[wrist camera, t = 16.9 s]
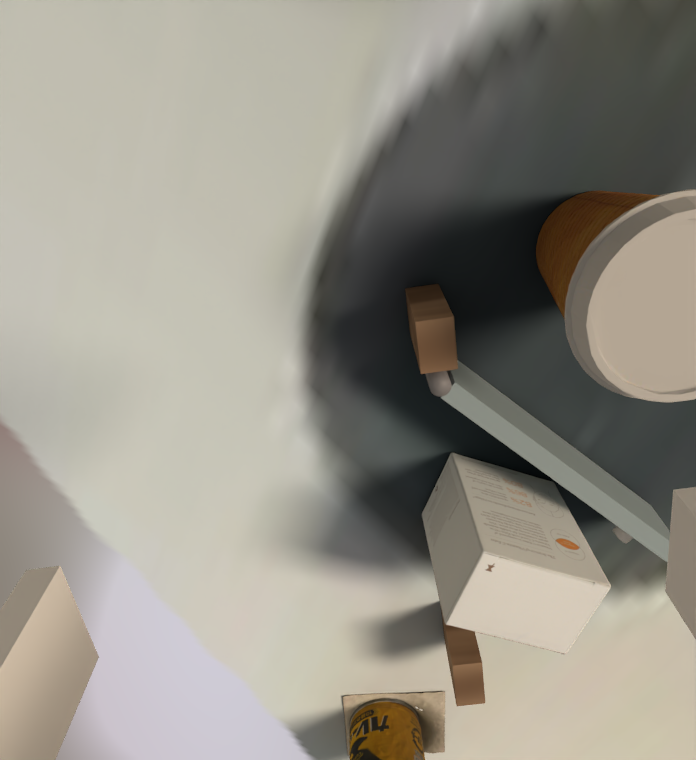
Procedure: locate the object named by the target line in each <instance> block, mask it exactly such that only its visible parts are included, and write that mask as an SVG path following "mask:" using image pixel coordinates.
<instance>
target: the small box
mask: <svg viewBox="0 0 696 760" xmlns="http://www.w3.org/2000/svg"><path fill="white" fill-rule="evenodd" d="M422 518H423V523H424V528H425V533H426V538H427V542H428V547H429V552H430V557H431V561H432V566H433V571H434V575H435V580H436V585H437V590H438V595H439V600H440V604H441V609H442V613H443V618H444V622H445V624H446V625H449V626H454V627H458V628H462V629H466V630H470V631H474V632H478V633H482V634H486V635H490V636H494V637H498V638H503V639H507V640H510V641H515V642H519V643H523V644H527V645H531V646H535V647H539V648H543V649H547V650H551V651H555V652H559V653H562V654H566V653H567V652H568V650H569V649H570V647H571V646H572V645H573V643H574V642H575V640H576V639H577V637H578V636H579V634H580V633H581V631H582V630H583V628H584V627H585V625H586V624H587V622H588V621H589V619H590V618H591V616H592V615H593V613H594V612H595V610H596V609H597V607H598V606H599V604H600V603H601V601H602V600H603V598H604V597H605V595H606V594H607V593H608V591H609V590H610V588H611V585H610V583H609V581H608V580H607V578H606V576H605V574H604V572H603V570H602V569H601V567H600V565H599V563H598V561H597V559H596V558H595V556H594V554H593V552H592V550H591V548H590V547H589V545H588V543H587V541H586V540H585V538H584V536H583V534H582V532H581V530H580V529H579V527H578V525H577V523H576V521H575V519H574V518H573V516H572V514H571V512H570V510H569V509H568V507H567V505H566V503H565V501H564V500H563V498H562V496H561V494H560V492H559V491H558V489H557V487H556V485H555V483H554V482H552V481H548V480H545V479H541V478H538V477H534V476H531V475H527V474H524V473H521V472H517V471H514V470H510V469H507V468H503V467H500V466H497V465H493V464H490V463H486V462H483V461H479V460H476V459H472V458H469V457H466V456H462V455H459V454H456V453H451V454H450V456H449V458H448V460H447V462H446V464H445V466H444V469H443V471H442V473H441V475H440V477H439V479H438V481H437V483H436V485H435V487H434V489H433V492H432V494H431V496H430V498H429V500H428V502H427V504H426V506H425V508H424V510H423V512H422Z"/></svg>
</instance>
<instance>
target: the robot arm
mask: <svg viewBox="0 0 696 760" xmlns="http://www.w3.org/2000/svg"><path fill="white" fill-rule="evenodd" d="M665 592H666V593H667V595H668V596H669V598H670V599H671V601H672V603H673V604H674V606H675V607H676V609H677V611H678V612H679V614H680V615H681V617H682V618H683V620H684V622H685V623H686V625H687V626H688V628H689V629H690V631H691V633H692V634H693V636H694V637H695V639H696V487H693V488H685V489H676V490H673V501H672V514H671V527H670V539H669V552H668V565H667V577H666V590H665ZM98 658H99V656H98V654H97V652H96V649H95V647H94V645H93V642H92V640H91V638H90V635H89V633H88V631H87V628H86V626H85V623H84V621H83V619H82V616H81V614H80V612H79V609H78V607H77V605H76V602H75V600H74V597H73V595H72V593H71V590H70V588H69V586H68V583H67V581H66V579H65V576H64V574H63V572H62V569H61V567H60V566H54V567H46V568H39V569H31V570H26V571H25V573H24V574H23V576H22V577H21V579H20V580H19V582H18V584H17V585H16V586H15V588H14V590H13V591H12V593H11V594H10V596H9V597H8V599H7V600H6V602H5V603H4V605H3V607H2V608H1V610H0V760H55V759H56V757H57V754H58V752H59V750H60V747H61V745H62V743H63V740H64V738H65V736H66V733H67V731H68V728H69V726H70V724H71V721H72V719H73V717H74V714H75V712H76V709H77V707H78V705H79V703H80V700H81V698H82V695H83V693H84V690H85V688H86V686H87V684H88V681H89V679H90V676H91V674H92V672H93V669H94V667H95V665H96V662H97V660H98Z"/></svg>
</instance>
